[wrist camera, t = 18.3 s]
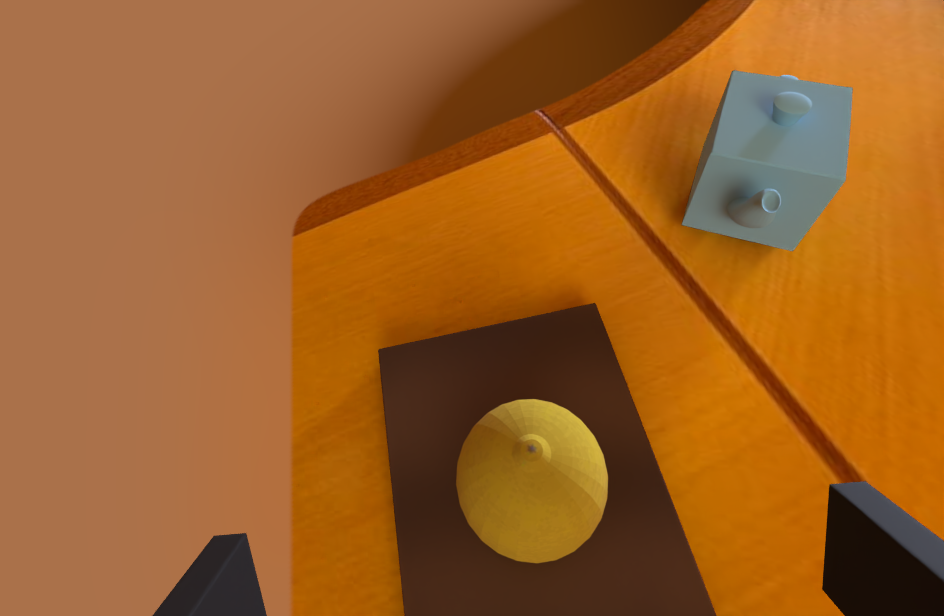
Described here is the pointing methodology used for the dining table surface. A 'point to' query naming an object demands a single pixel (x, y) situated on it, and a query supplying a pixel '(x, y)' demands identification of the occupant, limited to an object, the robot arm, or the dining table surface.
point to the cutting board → (435, 470)
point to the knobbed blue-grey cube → (771, 159)
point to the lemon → (532, 481)
